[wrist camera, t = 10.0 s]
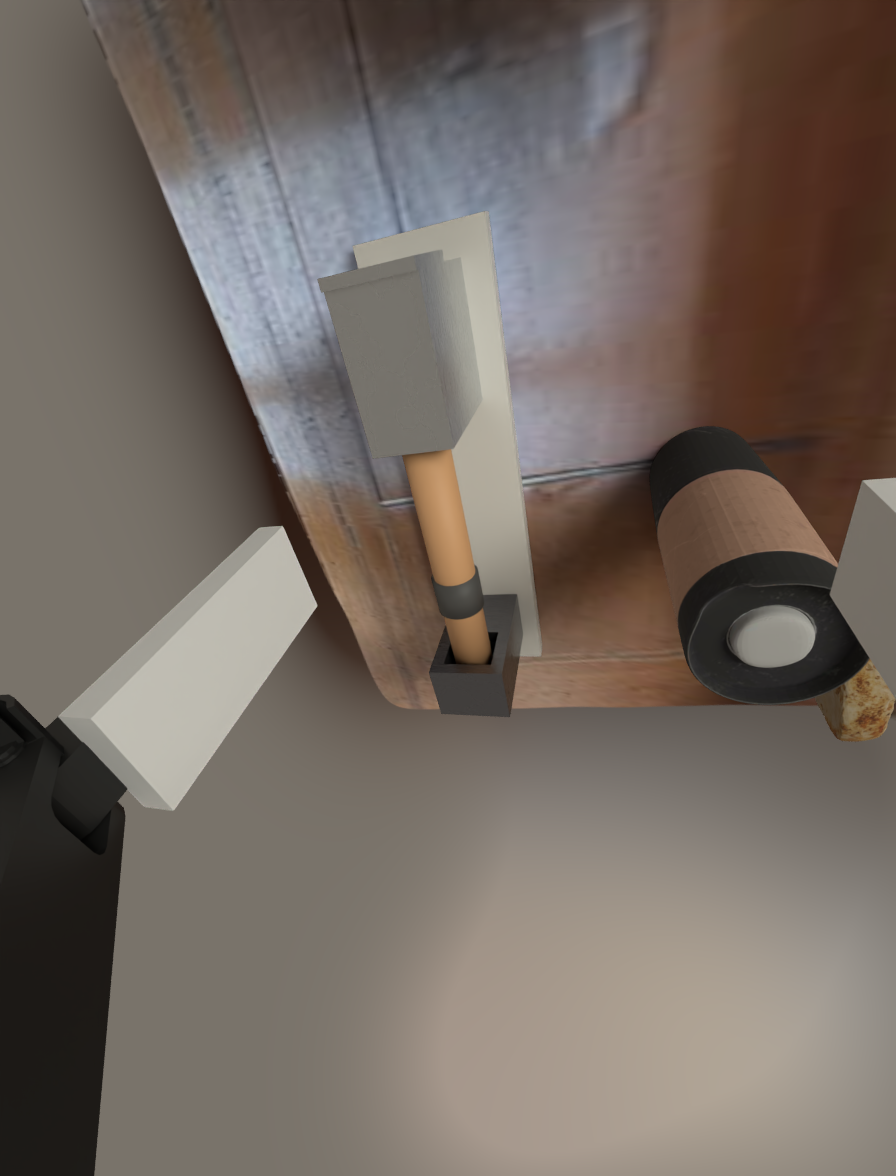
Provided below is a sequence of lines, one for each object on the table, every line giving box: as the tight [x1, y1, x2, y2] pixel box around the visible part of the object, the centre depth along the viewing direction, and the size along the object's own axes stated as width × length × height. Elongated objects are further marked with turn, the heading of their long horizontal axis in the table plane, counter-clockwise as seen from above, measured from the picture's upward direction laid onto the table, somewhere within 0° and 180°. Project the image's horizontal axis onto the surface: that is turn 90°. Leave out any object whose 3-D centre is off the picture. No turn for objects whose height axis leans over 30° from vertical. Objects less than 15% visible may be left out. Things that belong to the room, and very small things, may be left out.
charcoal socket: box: [429, 594, 523, 717], centre depth 45 cm, size 5×6×10 cm
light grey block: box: [317, 250, 483, 459], centre depth 31 cm, size 10×5×10 cm, turn 12°
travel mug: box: [650, 426, 870, 705], centre depth 30 cm, size 8×8×20 cm
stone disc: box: [815, 659, 895, 741], centre depth 39 cm, size 10×4×10 cm, turn 20°
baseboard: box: [353, 211, 542, 656], centre depth 42 cm, size 37×9×2 cm, turn 12°
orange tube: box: [402, 449, 493, 665], centre depth 37 cm, size 22×4×4 cm, turn 12°
